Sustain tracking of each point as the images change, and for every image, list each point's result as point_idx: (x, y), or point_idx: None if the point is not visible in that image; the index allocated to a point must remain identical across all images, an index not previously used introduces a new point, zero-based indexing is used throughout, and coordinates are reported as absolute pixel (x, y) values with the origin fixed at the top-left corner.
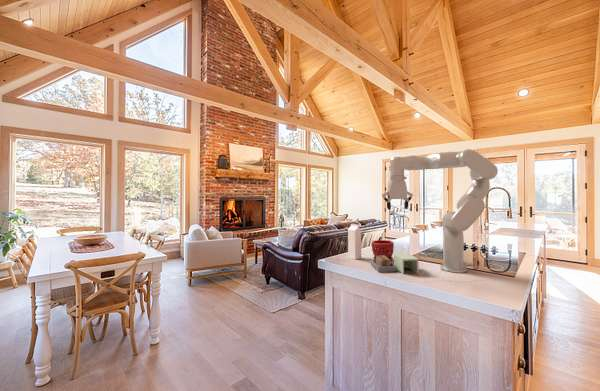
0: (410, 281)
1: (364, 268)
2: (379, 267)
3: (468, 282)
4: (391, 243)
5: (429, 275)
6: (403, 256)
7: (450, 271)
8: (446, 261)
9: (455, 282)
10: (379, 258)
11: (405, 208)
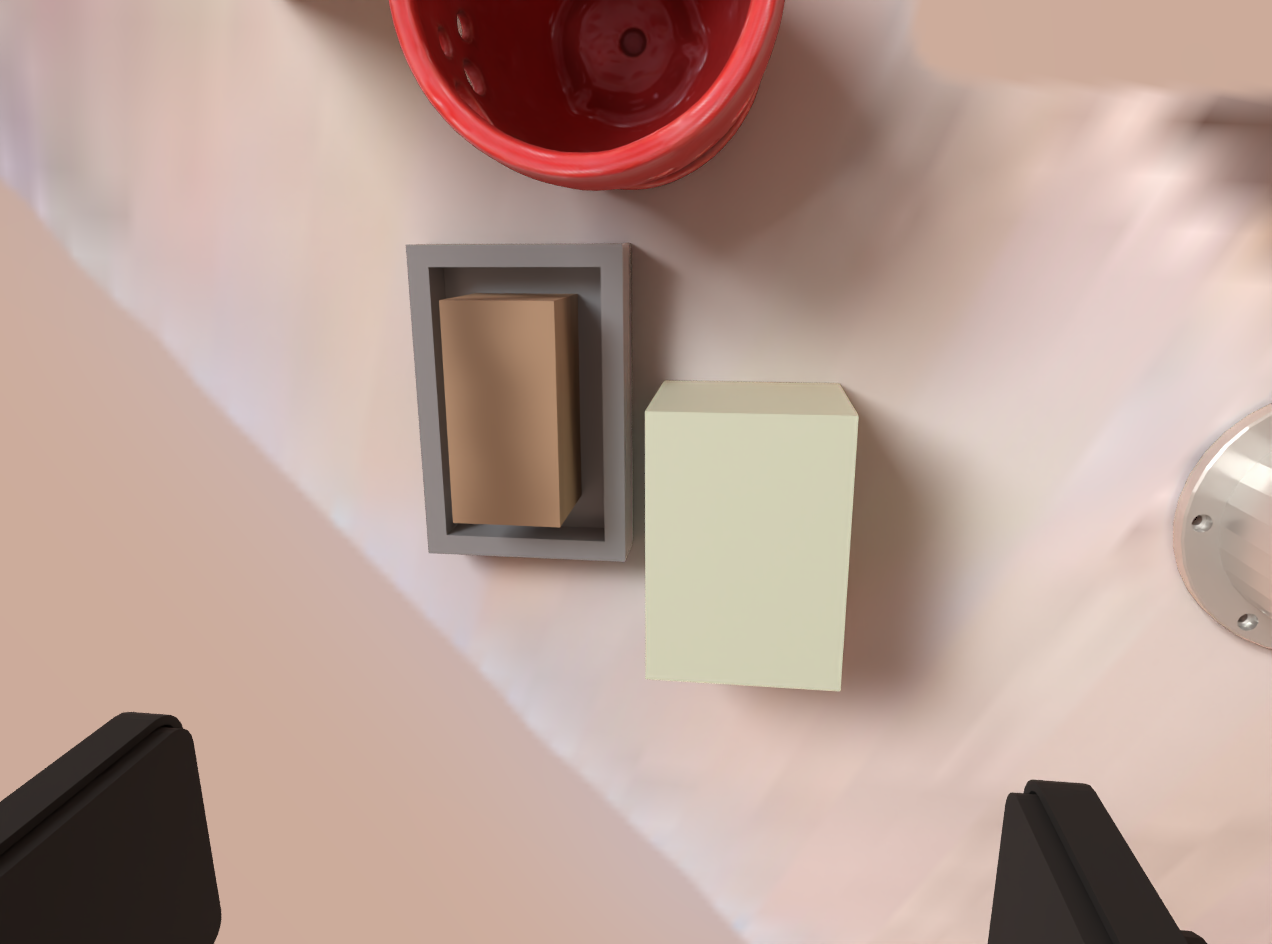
0: (650, 786)
1: (336, 396)
2: (441, 552)
3: None
4: (696, 139)
5: (905, 670)
6: (710, 568)
7: (1203, 608)
8: (1265, 580)
9: None
10: (449, 451)
11: (996, 918)
